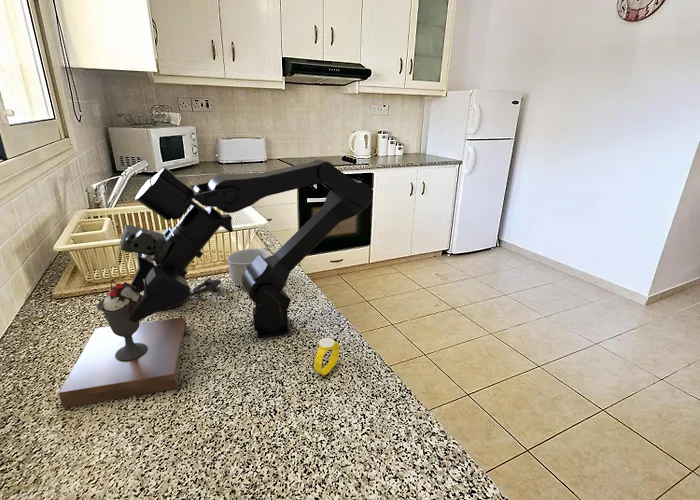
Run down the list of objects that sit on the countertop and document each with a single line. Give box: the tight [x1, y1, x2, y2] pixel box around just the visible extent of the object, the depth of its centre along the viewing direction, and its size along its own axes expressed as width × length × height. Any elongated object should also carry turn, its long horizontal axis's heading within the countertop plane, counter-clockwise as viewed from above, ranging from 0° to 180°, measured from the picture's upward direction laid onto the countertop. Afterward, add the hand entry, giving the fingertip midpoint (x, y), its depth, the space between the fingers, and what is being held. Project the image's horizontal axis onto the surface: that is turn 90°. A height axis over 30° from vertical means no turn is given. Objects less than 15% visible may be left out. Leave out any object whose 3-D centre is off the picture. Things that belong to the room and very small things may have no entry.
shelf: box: [58, 316, 188, 409], centre depth 67 cm, size 16×18×3 cm
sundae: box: [95, 278, 147, 361], centre depth 63 cm, size 7×7×15 cm
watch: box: [313, 337, 340, 376], centre depth 66 cm, size 6×3×6 cm, turn 149°
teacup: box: [226, 246, 271, 288], centre depth 98 cm, size 14×11×8 cm
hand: (129, 308), depth 63 cm, fingers open, 9 cm apart
